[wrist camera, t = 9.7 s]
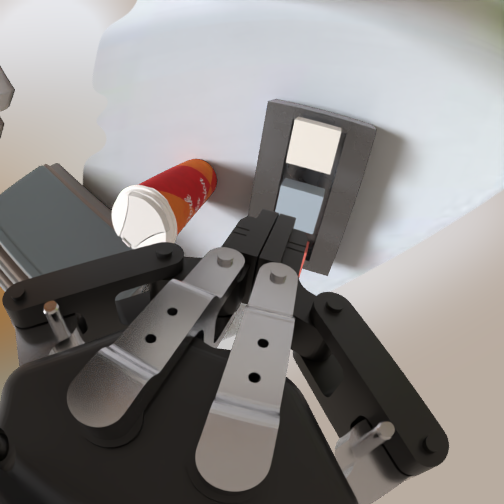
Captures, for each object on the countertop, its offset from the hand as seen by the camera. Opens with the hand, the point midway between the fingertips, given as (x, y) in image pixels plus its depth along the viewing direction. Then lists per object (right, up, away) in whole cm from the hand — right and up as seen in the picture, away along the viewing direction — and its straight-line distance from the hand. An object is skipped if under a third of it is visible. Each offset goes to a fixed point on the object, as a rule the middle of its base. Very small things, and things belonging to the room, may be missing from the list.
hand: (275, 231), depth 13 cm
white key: (+6, +12, +18) cm, 22 cm away
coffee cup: (-9, +10, +28) cm, 31 cm away
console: (+6, +8, +24) cm, 26 cm away
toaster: (-31, +2, +42) cm, 52 cm away
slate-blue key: (+5, +6, +22) cm, 23 cm away
